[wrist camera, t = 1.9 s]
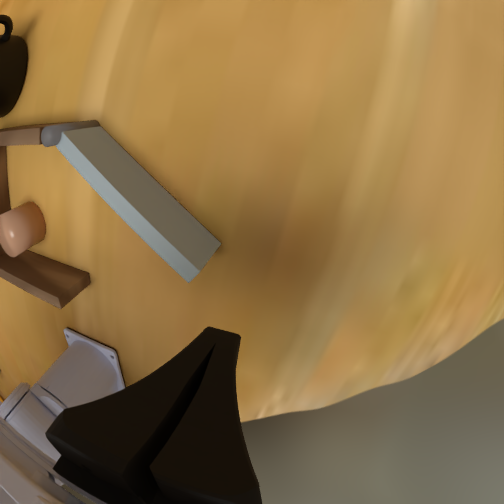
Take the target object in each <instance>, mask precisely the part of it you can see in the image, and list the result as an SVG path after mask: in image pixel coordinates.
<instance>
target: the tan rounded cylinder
mask: <svg viewBox="0 0 504 504" xmlns="http://www.w3.org/2000/svg"><path fill="white" fill-rule="evenodd" d="M45 234H46V224H45V220H44V217H43V214H42V212H41V210H40V209H39V207H38V206H37V205H36V204H35V203H33V202H27V203H25V204H23V205H20V206H18V207H16V208H14V209H12V210H9V211H7V212H5V213H3V214H1V215H0V244H1V246H2V248H3V249H4V251H5V252H6V253H7V254H8V255H9V256H11V257H16V256H17V255H19V254H21V253H22V252H24V251H25V250H27V249H29V248H30V247H32V246H34V245H35V244H37V243H39V242H40V241H42V240H43V239H44V237H45Z"/></svg>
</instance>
